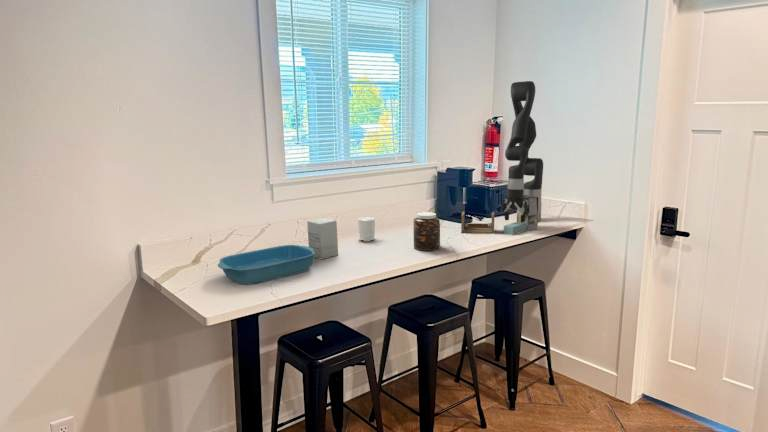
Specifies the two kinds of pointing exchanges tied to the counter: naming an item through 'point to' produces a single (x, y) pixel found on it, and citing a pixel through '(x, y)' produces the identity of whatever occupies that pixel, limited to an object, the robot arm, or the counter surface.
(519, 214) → the coffee box
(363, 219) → the white cup
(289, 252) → the casserole dish
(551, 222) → the counter surface
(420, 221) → the jar
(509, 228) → the light teal block
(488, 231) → the shelf rack
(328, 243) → the supplement box
